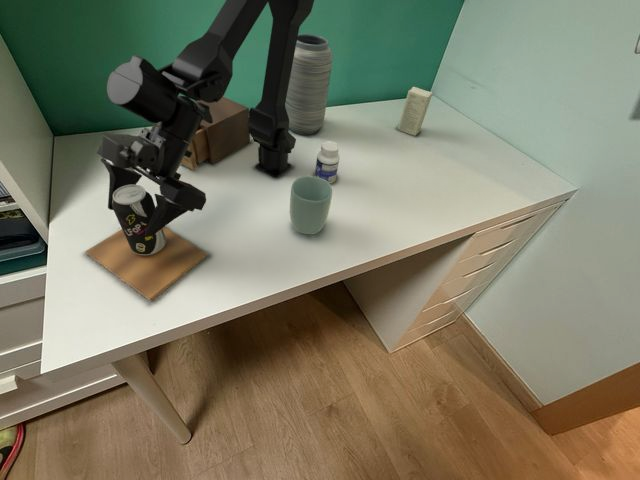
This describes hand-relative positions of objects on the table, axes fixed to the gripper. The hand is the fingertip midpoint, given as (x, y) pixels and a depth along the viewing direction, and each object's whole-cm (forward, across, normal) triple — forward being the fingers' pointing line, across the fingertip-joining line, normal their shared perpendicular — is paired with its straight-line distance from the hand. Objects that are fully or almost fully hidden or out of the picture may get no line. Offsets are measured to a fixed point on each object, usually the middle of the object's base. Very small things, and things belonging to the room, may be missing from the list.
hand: (129, 222), depth 52 cm
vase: (-36, -7, +47) cm, 59 cm away
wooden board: (+5, +1, +6) cm, 8 cm away
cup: (-12, +18, +23) cm, 32 cm away
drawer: (-13, -17, +23) cm, 32 cm away
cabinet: (-18, -17, +30) cm, 39 cm away
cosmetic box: (-52, +17, +63) cm, 83 cm away
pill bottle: (-24, +12, +35) cm, 44 cm away
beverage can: (+4, 0, +6) cm, 7 cm away
